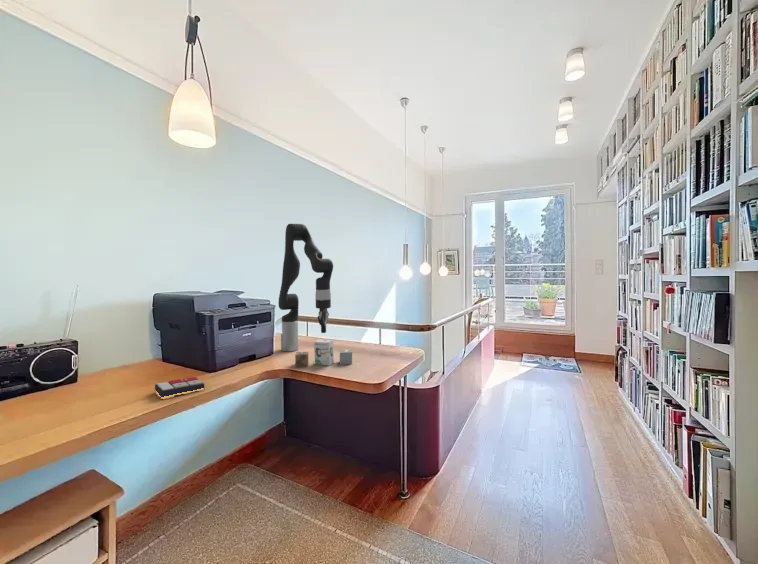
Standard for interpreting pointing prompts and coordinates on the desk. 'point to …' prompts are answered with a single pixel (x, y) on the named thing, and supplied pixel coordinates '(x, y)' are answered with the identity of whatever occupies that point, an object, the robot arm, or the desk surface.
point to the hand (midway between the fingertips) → (323, 332)
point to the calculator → (178, 386)
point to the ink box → (324, 352)
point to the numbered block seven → (345, 357)
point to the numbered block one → (301, 359)
